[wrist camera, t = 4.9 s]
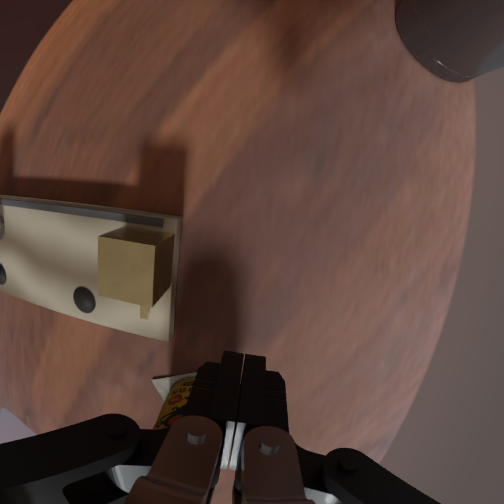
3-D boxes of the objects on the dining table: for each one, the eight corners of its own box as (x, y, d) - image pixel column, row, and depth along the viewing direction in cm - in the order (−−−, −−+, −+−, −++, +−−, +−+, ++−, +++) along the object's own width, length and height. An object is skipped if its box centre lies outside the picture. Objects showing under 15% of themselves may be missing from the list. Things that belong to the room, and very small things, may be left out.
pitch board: (-4, 194, 23) (-16, 195, 21) (182, 216, 23) (175, 219, 21) (0, 283, 25) (-10, 288, 23) (173, 333, 25) (167, 343, 23)
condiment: (221, 366, 26) (195, 474, 14) (250, 428, 27) (242, 526, 16) (151, 378, 26) (102, 469, 15) (186, 435, 28) (160, 523, 17)
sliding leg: (124, 225, 21) (98, 236, 17) (174, 233, 21) (155, 245, 17) (123, 311, 23) (100, 333, 19) (168, 321, 23) (152, 347, 19)
